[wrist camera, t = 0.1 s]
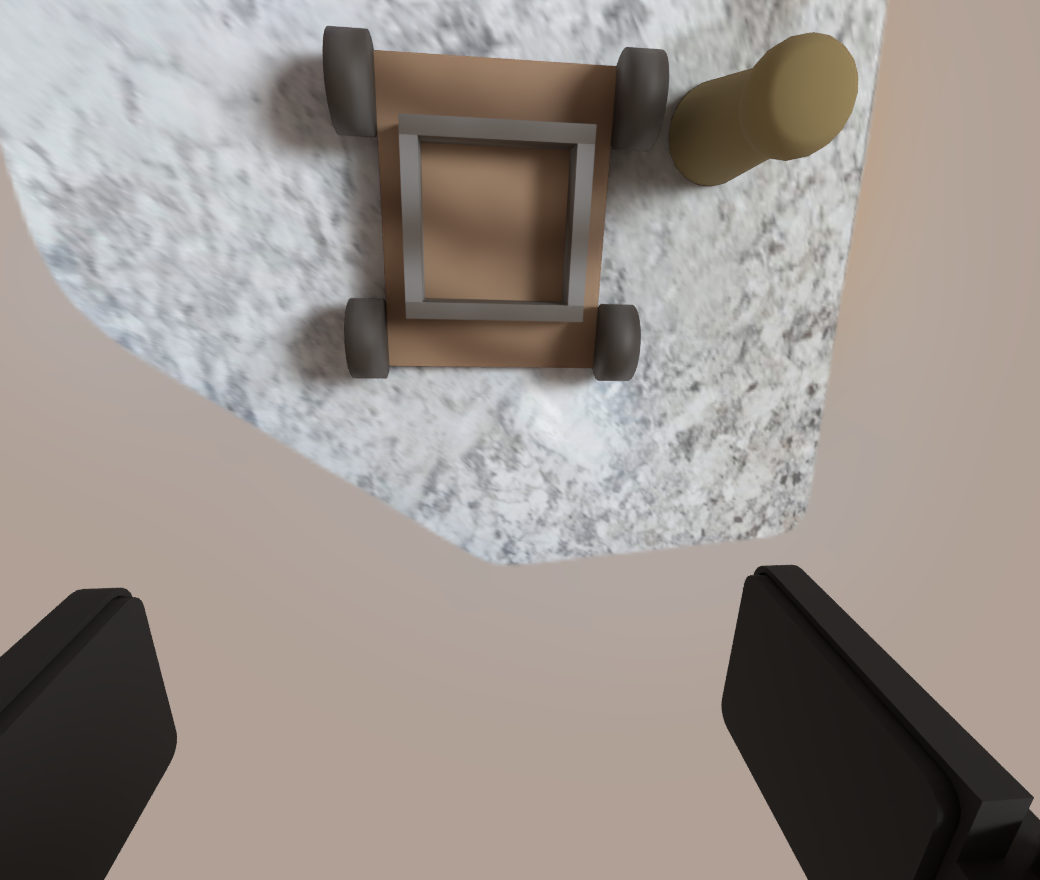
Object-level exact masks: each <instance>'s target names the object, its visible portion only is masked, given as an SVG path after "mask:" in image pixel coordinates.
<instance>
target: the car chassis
mask: <svg viewBox="0 0 1040 880" xmlns="http://www.w3.org/2000/svg"><path fill="white" fill-rule="evenodd" d="M323 70H324V81H325V89H326V95H327V101H328V107H329V111H330V115H331V119H332V123H333V125H334V128H335V130H336V132H337V134H338V135H347V136H366V137H376V136H377V134H378V150H379V170H380V189H381V209H382V229H383V249H384V269H385V288H386V301H385V299H365V298H350V299H349V300H348V303H347V306H346V312H345V324H344V337H345V352H346V359H347V364H348V369H349V372H350V374H351V376H352V377H353V378H387V377H388V373H389V367H390V366H467V367H550V368H593V373H594V376H595V378H596V379H597V380H598V381H629V380H631V379H632V377H633V376H634V373H635V371H636V368H637V364H638V360H639V354H640V343H641V329H640V320H639V315H638V312H637V309H636V308H635V306H633V305H618V304H600V305H599V307H598V298H599V286H600V273H601V261H602V248H603V236H604V223H605V211H606V198H607V186H608V173H609V161H610V148H611V147H612V149H617V150H636V151H649V150H650V149H651V148H652V147H653V145H654V143H655V141H656V139H657V137H658V134H659V132H660V129H661V125H662V122H663V118H664V114H665V109H666V103H667V96H668V87H669V63H668V57H667V54H666V52H665V51H664V50H661V49H647V48H633V47H626V48H624V50H623V51H622V53H621V55H620V57H619V60H618V63H617V66H605V65H590V64H575V63H560V62H545V61H530V60H515V59H500V58H485V57H470V56H455V55H440V54H426V53H411V52H396V51H381V50H374V48H373V43H372V39H371V35H370V32H369V30H368V29H364V28H350V27H336V26H326V28H325V30H324V35H323Z"/></svg>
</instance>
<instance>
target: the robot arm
mask: <svg viewBox="0 0 1040 880" xmlns="http://www.w3.org/2000/svg"><path fill="white" fill-rule="evenodd" d="M722 713H723V718H724V722H725V724H726V726H727V729H728V731H729V732H730V734H731V736H732V738H733V740H734V742H735V744H736V746H737V747H738V749H739V751H740V753H741V755H742V757H743V759H744V761H745V762H746V764H747V766H748V768H749V770H750V772H751V774H752V776H753V777H754V779H755V781H756V783H757V785H758V787H759V788H760V790H761V792H762V794H763V796H764V798H765V800H766V802H767V804H768V805H769V807H770V809H771V811H772V813H773V815H774V817H775V818H776V821H777V822H778V824H779V826H780V828H781V830H782V832H783V834H784V836H785V837H786V839H787V841H788V843H789V845H790V847H791V849H792V851H793V852H794V854H795V856H796V858H797V860H798V862H799V864H800V866H801V867H802V869H803V871H804V873H805V875H806V877H807V879H808V880H1040V820H1039V819H1038V818H1037V817H1036V816H1035V815H1034V813H1033V812H1031V811H1030V810H1029V807H1030V805H1031V803H1032V801H1033V799H1034V797H1033V796H1032V795H1031V794H1030V793H1029V792H1028V791H1027V790H1026V789H1025V788H1024V787H1023V786H1022V785H1021V784H1020V783H1019V782H1018V781H1017V780H1016V779H1014V778H1013V776H1012V775H1011V774H1010V773H1008V771H1006V770H1005V769H1004V768H1003V767H1002V766H1001V765H1000V764H999V763H998V762H997V761H996V760H995V759H994V758H993V757H992V756H991V755H990V754H989V753H988V752H987V751H986V750H985V749H984V748H983V747H982V746H981V745H980V744H979V743H978V742H977V741H976V740H975V739H974V738H973V737H972V736H971V735H970V734H969V733H968V732H967V731H966V730H965V729H964V728H963V727H962V726H961V725H960V724H959V723H958V722H957V721H956V720H955V719H954V718H953V717H952V716H951V715H950V714H949V713H948V712H947V711H946V710H944V709H943V708H942V707H941V706H940V705H939V704H938V703H937V702H936V701H935V700H934V699H933V698H932V697H931V696H930V695H929V694H928V693H927V692H926V691H925V690H924V689H923V688H922V687H921V686H920V685H919V684H918V683H917V682H916V681H915V680H914V679H913V678H912V677H911V676H910V675H909V674H908V673H907V672H906V671H905V670H904V669H903V668H902V667H901V666H900V665H899V664H898V663H897V662H896V661H895V660H894V659H893V658H892V657H891V656H889V654H887V652H886V651H885V650H883V649H882V647H880V646H879V645H878V644H877V643H876V642H875V641H874V640H873V639H872V638H871V637H870V636H869V635H868V634H867V633H866V632H865V631H864V630H863V629H862V628H861V627H860V626H859V625H858V624H857V623H856V622H855V621H854V620H853V619H852V618H851V617H850V616H849V615H848V614H847V613H846V612H845V611H844V610H843V609H842V608H841V607H840V606H839V605H838V604H837V603H836V602H835V601H834V600H833V599H832V598H831V597H830V596H829V595H827V594H826V592H825V591H823V589H822V588H820V586H818V585H817V584H816V583H815V582H814V581H813V580H812V579H811V578H810V577H809V576H808V575H807V574H806V573H805V572H804V571H803V570H802V569H801V568H799V567H798V566H796V565H774V566H773V565H772V566H760V567H758V568H757V569H756V570H755V572H754V575H750V576H748V577H747V578H746V580H745V583H744V587H743V593H742V598H741V603H740V608H739V613H738V619H737V624H736V629H735V635H734V640H733V645H732V650H731V655H730V660H729V665H728V671H727V676H726V681H725V686H724V692H723V697H722ZM176 744H177V733H176V729H175V725H174V721H173V717H172V713H171V709H170V705H169V701H168V697H167V694H166V690H165V686H164V682H163V679H162V674H161V671H160V667H159V663H158V659H157V655H156V651H155V647H154V643H153V640H152V635H151V632H150V628H149V624H148V620H147V616H146V612H145V608H144V605H143V603H142V601H141V600H140V599H139V598H136V597H132V595H131V593H130V592H129V591H128V590H127V589H124V588H100V589H81V590H77V591H75V592H73V593H72V594H70V595H69V596H68V597H67V598H66V599H65V600H64V601H63V602H61V603H60V604H59V605H58V606H57V607H56V608H55V609H54V610H52V611H51V612H50V613H49V614H48V615H47V616H46V617H45V618H43V619H42V620H41V621H40V622H39V623H38V624H37V625H36V626H35V627H33V628H32V629H31V630H30V631H29V632H28V633H27V634H26V635H25V636H23V637H22V639H20V640H19V641H18V642H17V643H16V644H14V645H13V646H12V647H11V648H10V649H9V650H8V651H7V652H6V653H5V654H3V655H2V656H1V657H0V880H104V879H105V877H106V875H107V874H108V872H109V870H110V868H111V867H112V865H113V863H114V861H115V860H116V858H117V856H118V854H119V852H120V851H121V848H122V847H123V845H124V843H125V842H126V840H127V838H128V837H129V835H130V833H131V831H132V830H133V828H134V826H135V824H136V822H137V821H138V819H139V817H140V815H141V814H142V812H143V810H144V808H145V807H146V805H147V803H148V801H149V800H150V798H151V796H152V794H153V792H154V791H155V789H156V787H157V785H158V784H159V782H160V780H161V778H162V777H163V775H164V773H165V771H166V770H167V768H168V766H169V764H170V762H171V760H172V758H173V756H174V753H175V749H176Z"/></svg>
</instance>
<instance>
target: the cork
mask: <svg viewBox="0 0 1040 880" xmlns="http://www.w3.org/2000/svg"><path fill="white" fill-rule="evenodd" d="M857 93H858V72H857V69H856V65H855V61H854V59H853V57H852V56H851V54H850V53H849V51H848V50H847V48H846V47H845V46H844V45H843V44H842V43H841V42H839V41H838V40H836V39H835V38H833V37H832V36H830V35H826V34H820V33H815V32H813V33H806V34H801V35H796V36H791V37H789V38H788V39H786V40H784V41H783V42H781V43H779V44H778V45H776V46H774V47H773V48H771V49H770V50H768V51H767V52H766V53H765V55H764V56H763V57H762V58H761V59H760V60H759V61H758V62H757V63H756V65H755V66H754V67H753V68H751V69H748V70H744V71H741V72H738V73H734V74H731V75H727V76H724V77H720V78H717V79H713V80H710V81H706V82H704V83H702V84H700V85H699V86H697V87H695V88H694V89H692V90H690V92H689V93H688V94H687V95H686V96H685V97H684V98H683V100H682V101H681V102H680V103H679V105H678V107H677V109H676V111H675V113H674V115H673V117H672V120H671V126H670V131H669V145H670V153H671V155H672V158H673V160H674V163H675V166H676V167H677V168H678V169H679V171H680V172H681V173H682V174H683V175H684V177H685V178H687V179H689V180H691V181H692V182H694V183H696V184H699V185H706V186H714V185H719V184H724V183H726V182H728V181H730V180H732V179H733V178H735V177H737V176H739V175H741V174H742V173H744V172H746V171H748V170H750V169H752V168H753V167H755V166H757V165H759V164H761V163H762V162H764V161H766V160H768V159H770V158H771V159H777V160H783V161H788V160H792V159H797V158H802V157H807V156H809V155H811V154H813V153H815V152H816V151H818V150H820V149H821V148H823V147H825V146H826V145H827V144H829V143H830V142H831V141H832V140H833V139H834V138H835V137H836V136H837V135H838V133H839V132H840V131H841V130H842V129H843V127H844V125H845V124H846V122H847V120H848V118H849V117H850V115H851V113H852V110H853V107H854V104H855V100H856V97H857Z"/></svg>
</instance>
